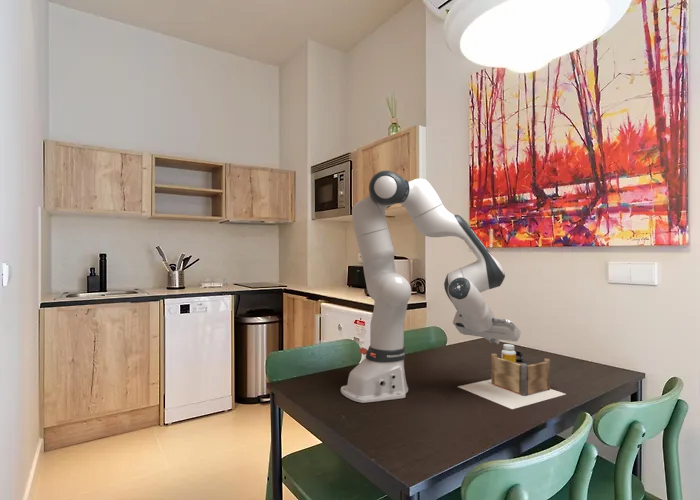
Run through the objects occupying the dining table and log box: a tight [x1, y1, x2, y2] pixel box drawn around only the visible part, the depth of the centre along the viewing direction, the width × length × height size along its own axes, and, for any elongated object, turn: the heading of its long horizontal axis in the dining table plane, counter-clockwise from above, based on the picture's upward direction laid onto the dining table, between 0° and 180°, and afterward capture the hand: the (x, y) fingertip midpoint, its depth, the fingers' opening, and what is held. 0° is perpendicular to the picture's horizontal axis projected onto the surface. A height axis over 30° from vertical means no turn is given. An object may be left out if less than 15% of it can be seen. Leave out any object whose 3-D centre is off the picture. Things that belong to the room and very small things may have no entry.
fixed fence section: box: [520, 358, 551, 396], centre depth 132 cm, size 14×2×10 cm, turn 120°
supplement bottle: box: [500, 343, 517, 363], centre depth 158 cm, size 5×5×10 cm
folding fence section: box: [490, 353, 521, 393], centre depth 135 cm, size 11×2×10 cm, turn 29°
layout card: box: [457, 378, 567, 410], centre depth 133 cm, size 26×22×1 cm
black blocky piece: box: [514, 348, 531, 364], centre depth 172 cm, size 12×7×5 cm, turn 51°
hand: (495, 341), depth 135 cm, fingers closed
